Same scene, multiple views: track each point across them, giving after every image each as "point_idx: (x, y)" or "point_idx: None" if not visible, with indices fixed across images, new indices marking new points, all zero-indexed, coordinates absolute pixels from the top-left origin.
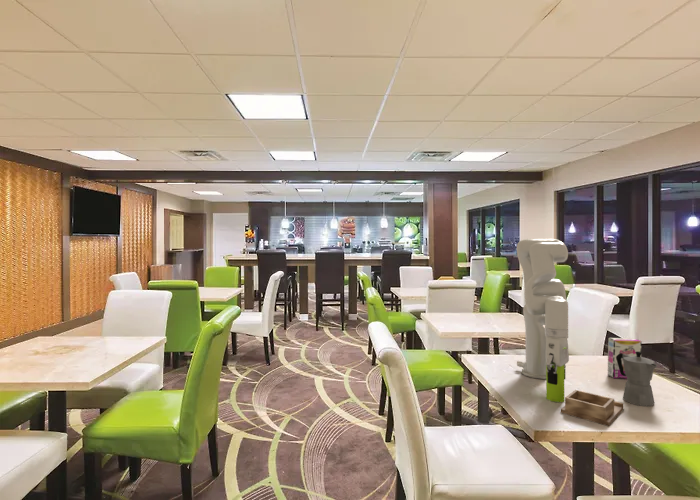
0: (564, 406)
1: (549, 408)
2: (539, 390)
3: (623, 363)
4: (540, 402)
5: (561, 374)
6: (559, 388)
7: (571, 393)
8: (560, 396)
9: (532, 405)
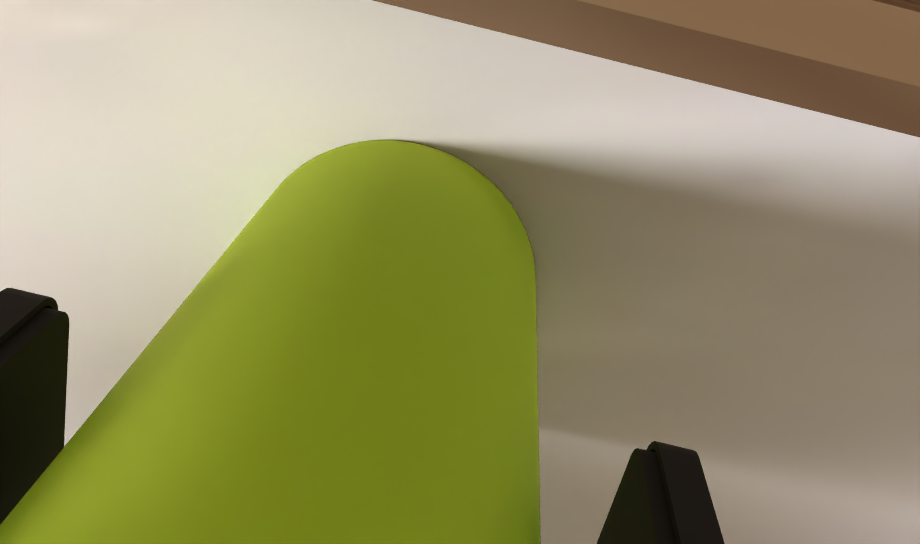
0: (909, 121)
1: (898, 324)
2: None
3: None
4: None
5: (433, 526)
6: (506, 325)
7: (842, 45)
8: (500, 232)
9: (867, 533)
